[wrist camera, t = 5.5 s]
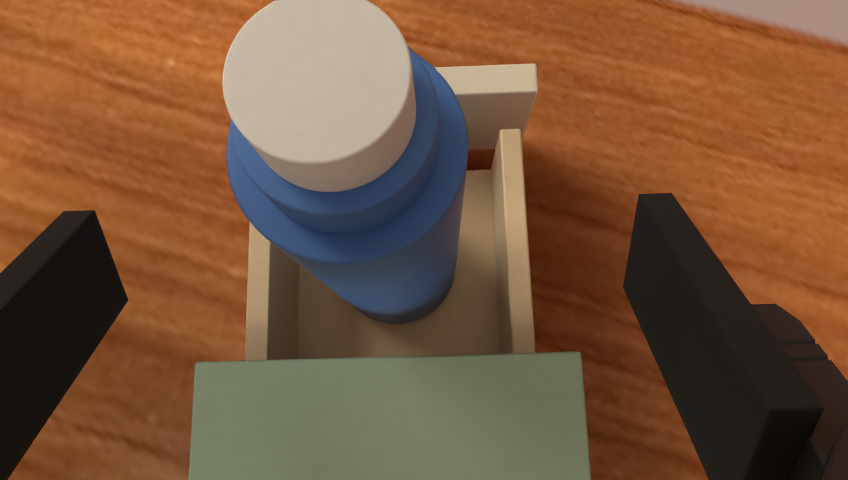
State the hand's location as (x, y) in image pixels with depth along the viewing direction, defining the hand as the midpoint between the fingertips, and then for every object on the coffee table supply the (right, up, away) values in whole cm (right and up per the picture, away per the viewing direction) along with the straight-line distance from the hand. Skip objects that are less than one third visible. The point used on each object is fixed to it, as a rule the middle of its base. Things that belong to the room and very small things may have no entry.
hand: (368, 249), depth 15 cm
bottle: (0, -1, +11) cm, 11 cm away
